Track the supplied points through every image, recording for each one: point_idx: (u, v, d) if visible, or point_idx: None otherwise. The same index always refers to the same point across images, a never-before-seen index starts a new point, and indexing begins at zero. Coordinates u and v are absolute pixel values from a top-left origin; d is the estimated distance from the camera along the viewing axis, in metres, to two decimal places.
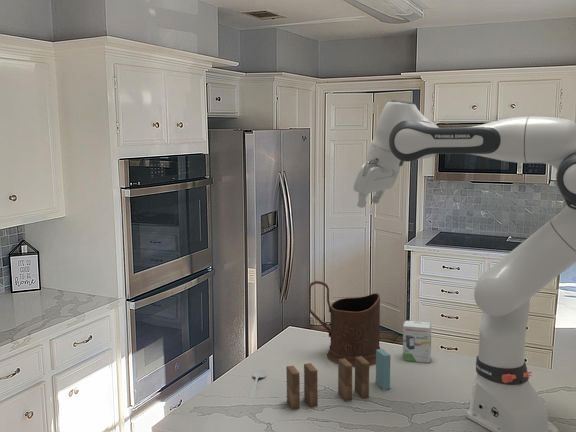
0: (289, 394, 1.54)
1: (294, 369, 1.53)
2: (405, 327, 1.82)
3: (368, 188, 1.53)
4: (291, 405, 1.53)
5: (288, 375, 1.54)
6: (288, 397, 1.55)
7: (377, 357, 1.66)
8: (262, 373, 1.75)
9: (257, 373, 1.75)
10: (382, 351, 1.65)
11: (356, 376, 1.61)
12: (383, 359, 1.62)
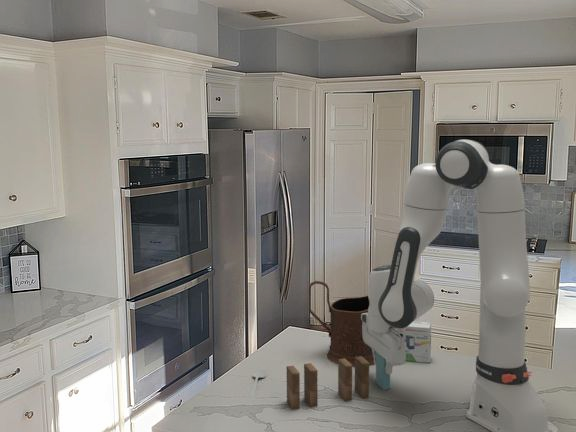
0: (289, 394, 1.54)
1: (294, 369, 1.53)
2: (405, 327, 1.82)
3: None
4: (291, 405, 1.53)
5: (288, 375, 1.54)
6: (288, 397, 1.55)
7: (377, 357, 1.66)
8: (262, 373, 1.75)
9: (257, 373, 1.75)
10: None
11: (356, 376, 1.61)
12: (383, 359, 1.62)
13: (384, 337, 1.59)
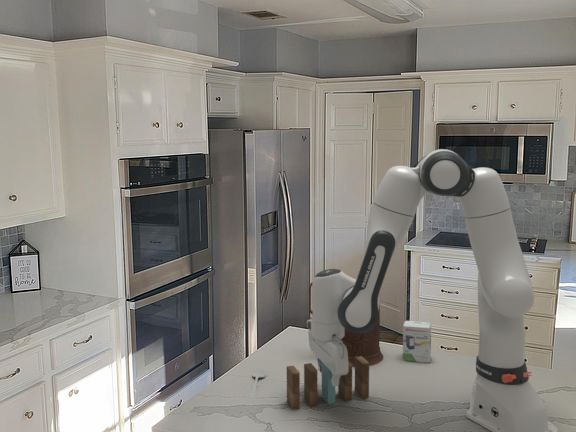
0: (289, 394, 1.54)
1: (294, 369, 1.53)
2: (405, 327, 1.82)
3: None
4: (291, 405, 1.53)
5: (288, 375, 1.54)
6: (288, 397, 1.55)
7: (322, 369, 1.58)
8: (262, 373, 1.75)
9: (257, 373, 1.75)
10: None
11: (356, 376, 1.61)
12: (328, 372, 1.54)
13: (327, 345, 1.51)
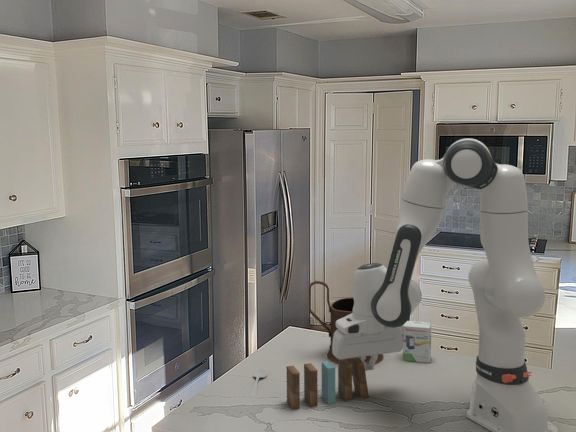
0: (289, 394, 1.54)
1: (294, 369, 1.53)
2: (405, 327, 1.82)
3: None
4: (291, 405, 1.53)
5: (288, 375, 1.54)
6: (288, 397, 1.55)
7: (322, 369, 1.58)
8: (263, 373, 1.75)
9: (258, 373, 1.75)
10: (327, 363, 1.57)
11: (354, 377, 1.61)
12: (328, 372, 1.54)
13: (385, 332, 1.59)
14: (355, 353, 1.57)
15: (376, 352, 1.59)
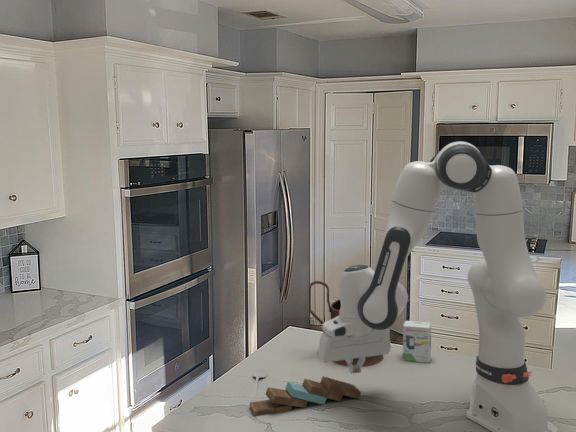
0: None
1: (252, 409, 1.51)
2: (405, 327, 1.82)
3: None
4: None
5: None
6: None
7: None
8: (262, 373, 1.75)
9: (257, 373, 1.75)
10: (289, 388, 1.54)
11: None
12: None
13: (372, 334, 1.57)
14: (342, 356, 1.55)
15: (363, 355, 1.57)
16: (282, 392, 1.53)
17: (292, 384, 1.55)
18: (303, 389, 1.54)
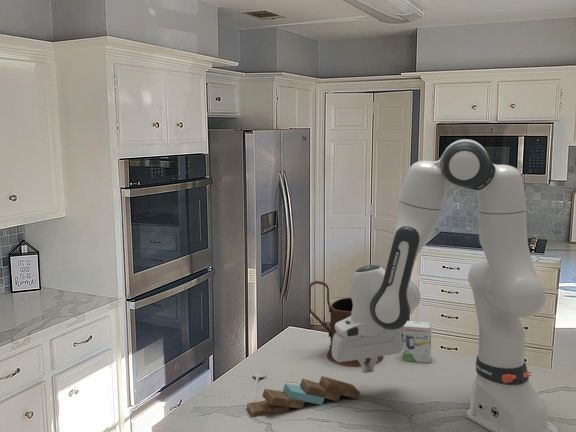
0: None
1: (249, 410, 1.51)
2: (405, 327, 1.82)
3: None
4: None
5: None
6: None
7: None
8: (262, 373, 1.75)
9: (257, 373, 1.75)
10: (286, 389, 1.54)
11: None
12: (292, 398, 1.51)
13: (384, 334, 1.58)
14: (355, 356, 1.56)
15: (376, 354, 1.58)
16: (279, 393, 1.52)
17: (289, 385, 1.55)
18: (300, 390, 1.54)
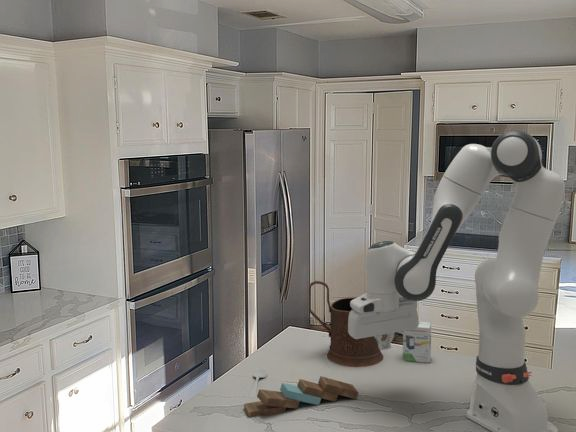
0: None
1: (246, 410, 1.51)
2: None
3: None
4: None
5: None
6: None
7: None
8: (263, 373, 1.75)
9: (258, 373, 1.75)
10: (283, 389, 1.54)
11: None
12: (289, 398, 1.52)
13: (400, 310, 1.58)
14: (371, 332, 1.57)
15: (392, 330, 1.58)
16: (274, 394, 1.52)
17: (286, 385, 1.55)
18: (297, 390, 1.54)
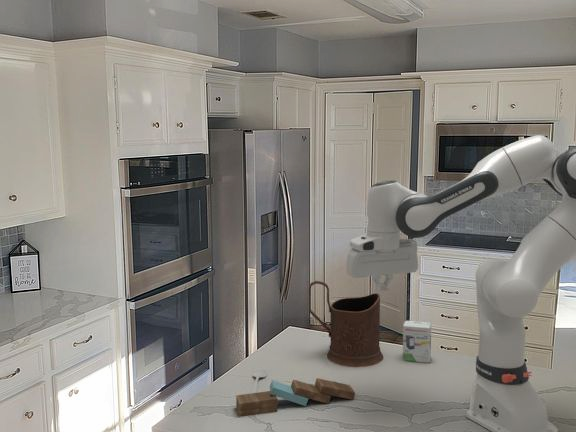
0: None
1: (237, 409, 1.51)
2: (405, 327, 1.82)
3: None
4: None
5: None
6: None
7: None
8: (262, 373, 1.75)
9: (257, 373, 1.75)
10: (271, 386, 1.56)
11: None
12: None
13: (400, 251, 1.56)
14: (370, 272, 1.55)
15: (391, 271, 1.56)
16: (251, 397, 1.52)
17: (275, 382, 1.56)
18: (285, 388, 1.55)
